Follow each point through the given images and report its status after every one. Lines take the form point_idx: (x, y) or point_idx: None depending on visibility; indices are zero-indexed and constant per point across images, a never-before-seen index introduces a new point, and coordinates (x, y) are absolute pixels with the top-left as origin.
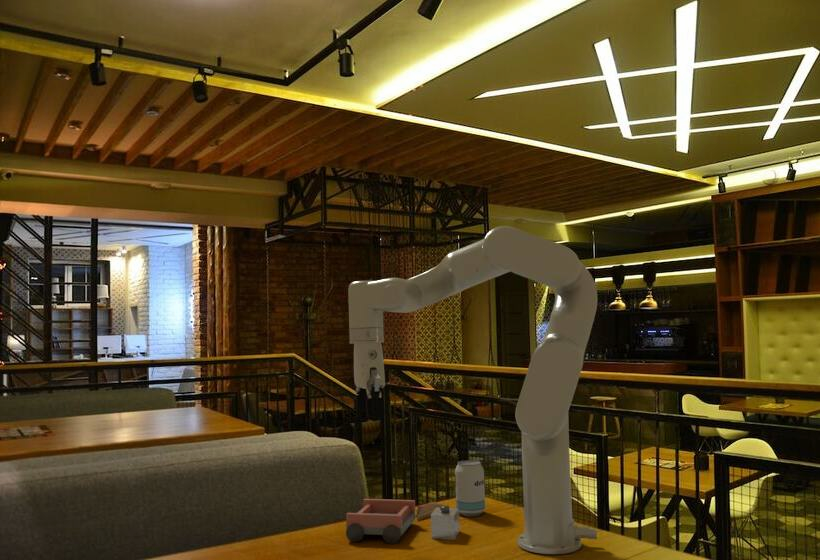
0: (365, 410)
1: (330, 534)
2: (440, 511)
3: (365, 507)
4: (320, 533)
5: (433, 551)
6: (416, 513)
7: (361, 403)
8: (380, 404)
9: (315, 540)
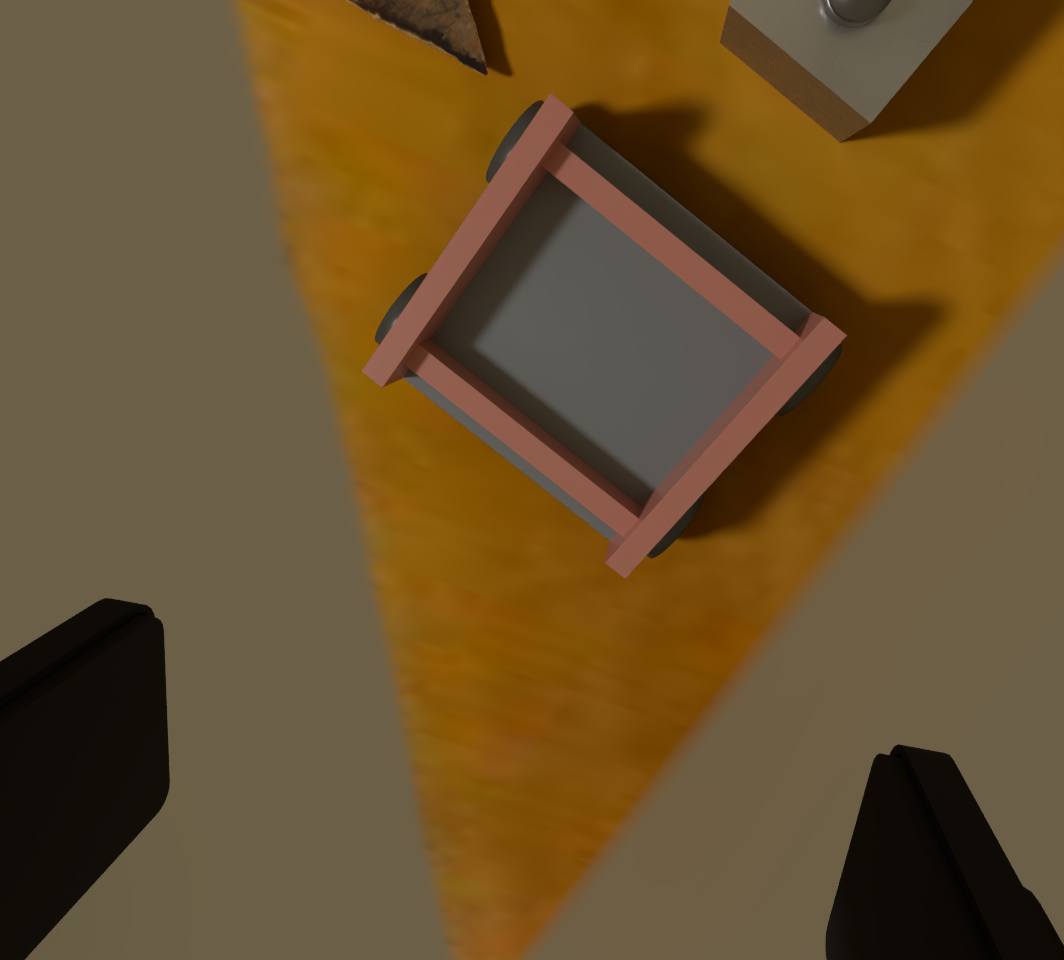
0: (151, 700)
1: (503, 558)
2: (849, 27)
3: (473, 403)
4: (467, 589)
5: (1041, 229)
6: (415, 38)
7: (61, 844)
8: (1033, 946)
9: (554, 639)
